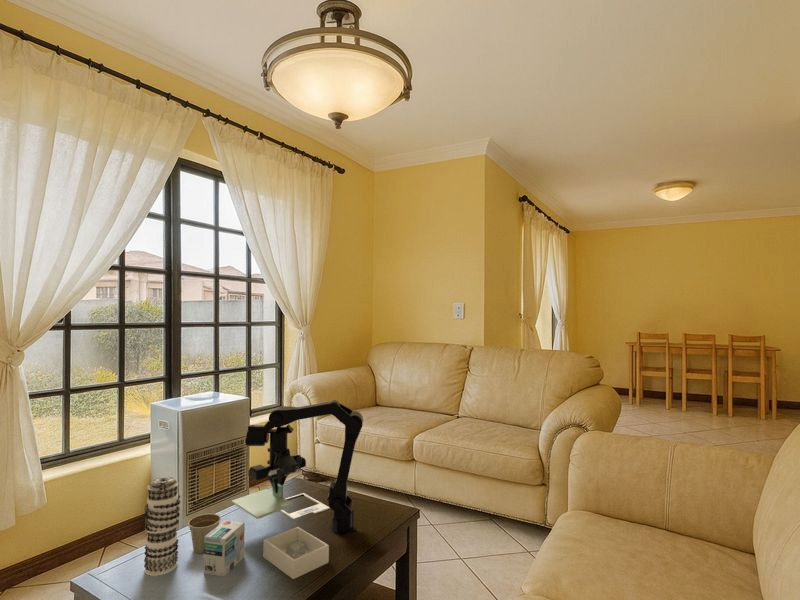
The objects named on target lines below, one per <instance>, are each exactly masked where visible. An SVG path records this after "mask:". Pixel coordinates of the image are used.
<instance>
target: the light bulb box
mask: <svg viewBox="0 0 800 600" xmlns="http://www.w3.org/2000/svg"><path fill="white" fill-rule="evenodd" d="M245 526H246V524H245V522H241V521H240V522H239V521H234V520H233V521H232V520H226V519H225V520H224V521H223V522H222V523H219V525H218V527H216V528H215V529H214V530H212V531H211V532H210V533H209V534H207V535H206V536H205V543H204V552H203V557H204V558H203V575H204V576H205V575H214V576H218V577H219V576H220V577H225V576H226V575H228V574H229V573H230V572H231V570H232V569H234V567H236V566H237V565H238V563H240V562H241V561H242V560H243V559H244V557H245V531H246V530H245Z"/></svg>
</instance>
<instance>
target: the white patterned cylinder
mask: <svg viewBox="0 0 800 600" xmlns="http://www.w3.org/2000/svg"><path fill="white" fill-rule="evenodd" d="M178 485H179V481H178V480H176V479H175V478H174V477H172V476H162V477H157V478H154V479H153V480H152V481H151V482H150V484H148V485H147V487H146V489H147V490H148V491H147V498H146V505H144V514H143V515H144V516H145V519H144V520H145V521H144V524H145V525H144V530H145V531H146V532H147V533H146V536H147V537H146V540H145V545H144V549H145V551H144V555H145V556H144V560H143V561H144V565H143V567H144V574H145V573H146V574H147V576H149V575H150V577H158V575H159V576H164V575H167V574H169V573H171V572H173V571H174V570H175V569H177V567H178V564H177V563H178V561H179V560H178V559H179V556H178V555H179V551H178V549H179V548H178V547H179V545H178V544H179V539H178V531H177V528H178V526H179V522H180V520H179V519H178V518H179V517H180V512H179V511H180V510H181V508H180V506H179V505H180V504H181V500H180V498H181V495H180V494H179V493H178V490H179V489H178ZM172 570H173V571H172ZM166 573H167V574H166ZM146 574H145V575H146ZM163 574H164V575H163Z"/></svg>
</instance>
